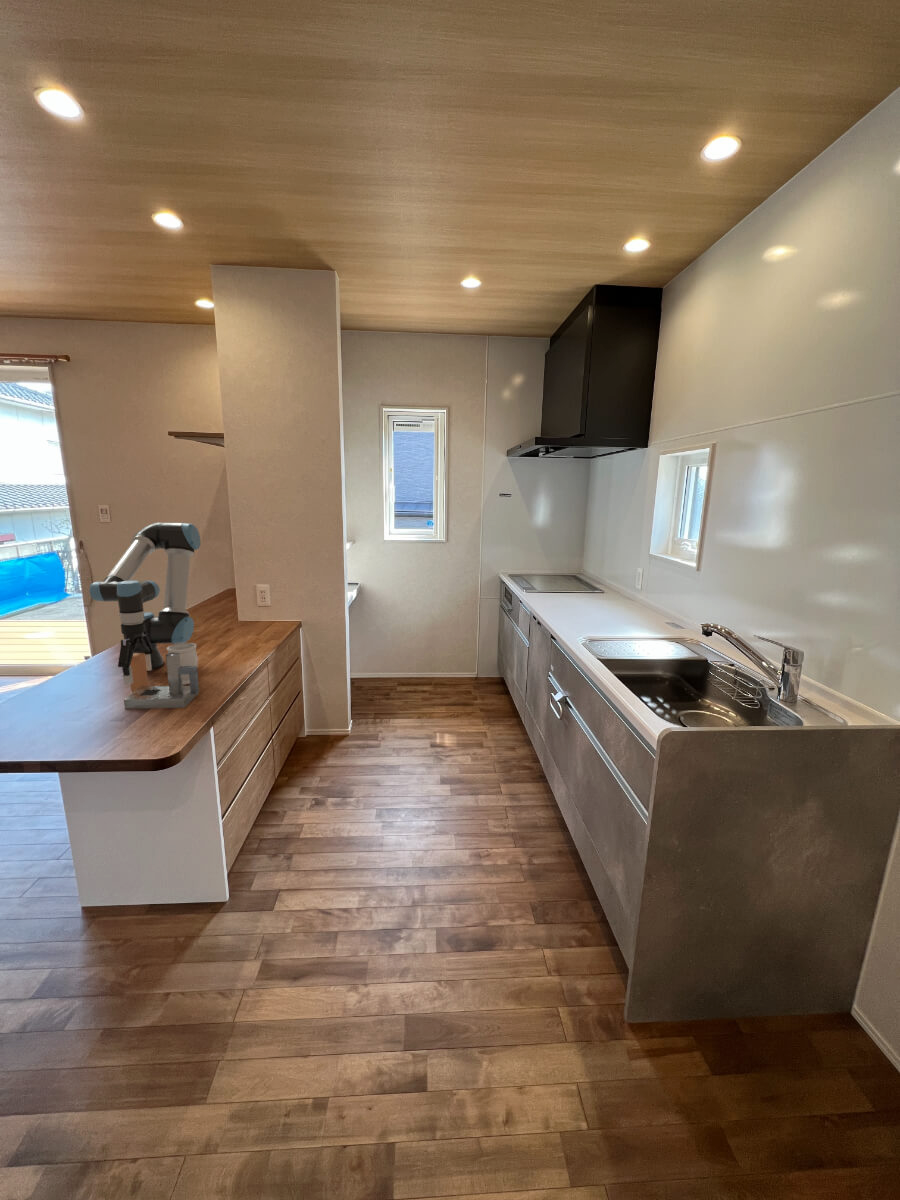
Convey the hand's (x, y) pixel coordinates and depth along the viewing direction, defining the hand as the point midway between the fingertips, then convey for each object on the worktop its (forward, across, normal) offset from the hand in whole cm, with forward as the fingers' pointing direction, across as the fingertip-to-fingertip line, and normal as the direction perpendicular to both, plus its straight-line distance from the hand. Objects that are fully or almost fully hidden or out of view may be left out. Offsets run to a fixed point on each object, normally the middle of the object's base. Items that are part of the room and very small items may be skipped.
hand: (138, 676), depth 181 cm
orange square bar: (+6, 0, 0) cm, 6 cm away
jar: (+7, -10, +12) cm, 17 cm away
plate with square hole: (+6, +9, +13) cm, 17 cm away
